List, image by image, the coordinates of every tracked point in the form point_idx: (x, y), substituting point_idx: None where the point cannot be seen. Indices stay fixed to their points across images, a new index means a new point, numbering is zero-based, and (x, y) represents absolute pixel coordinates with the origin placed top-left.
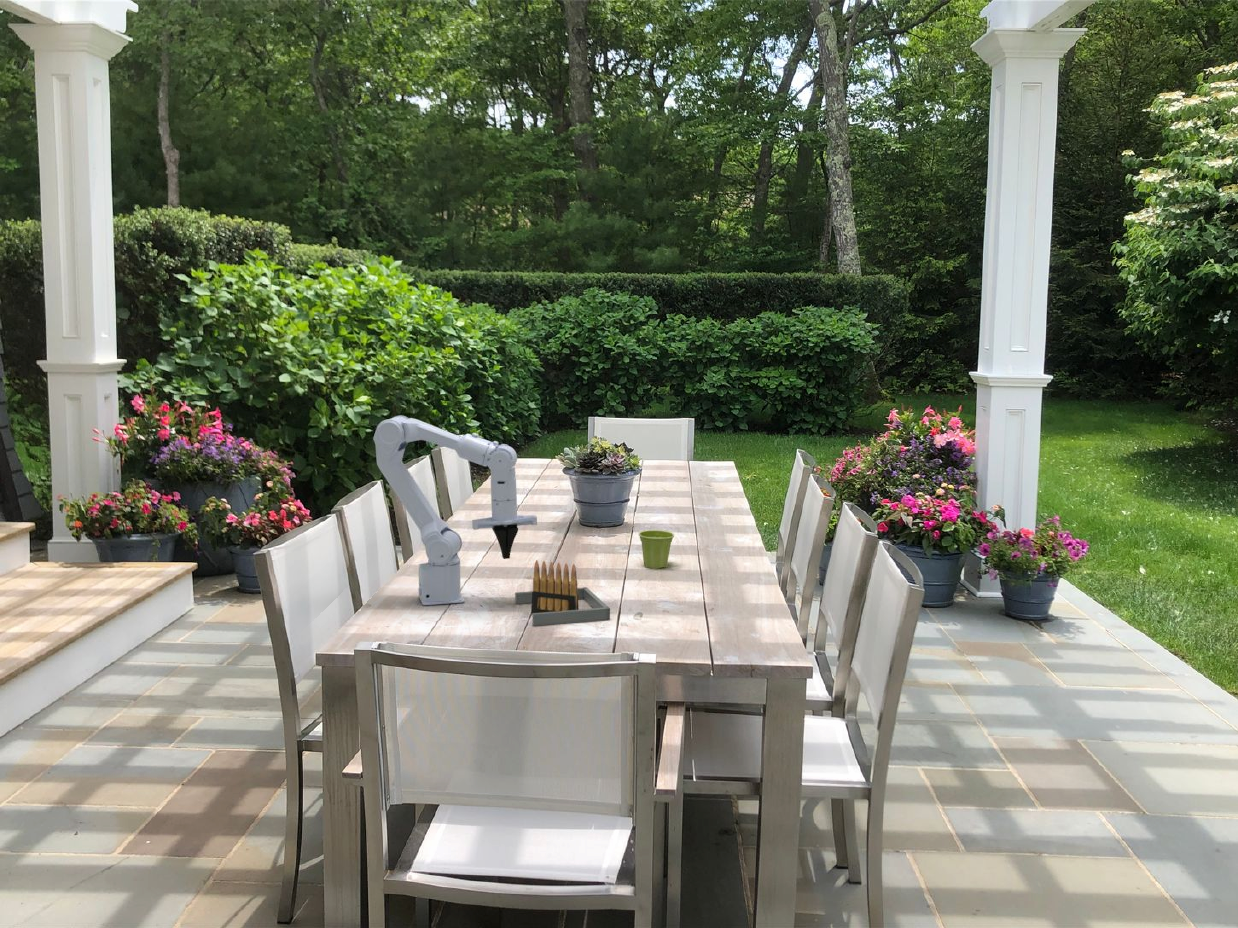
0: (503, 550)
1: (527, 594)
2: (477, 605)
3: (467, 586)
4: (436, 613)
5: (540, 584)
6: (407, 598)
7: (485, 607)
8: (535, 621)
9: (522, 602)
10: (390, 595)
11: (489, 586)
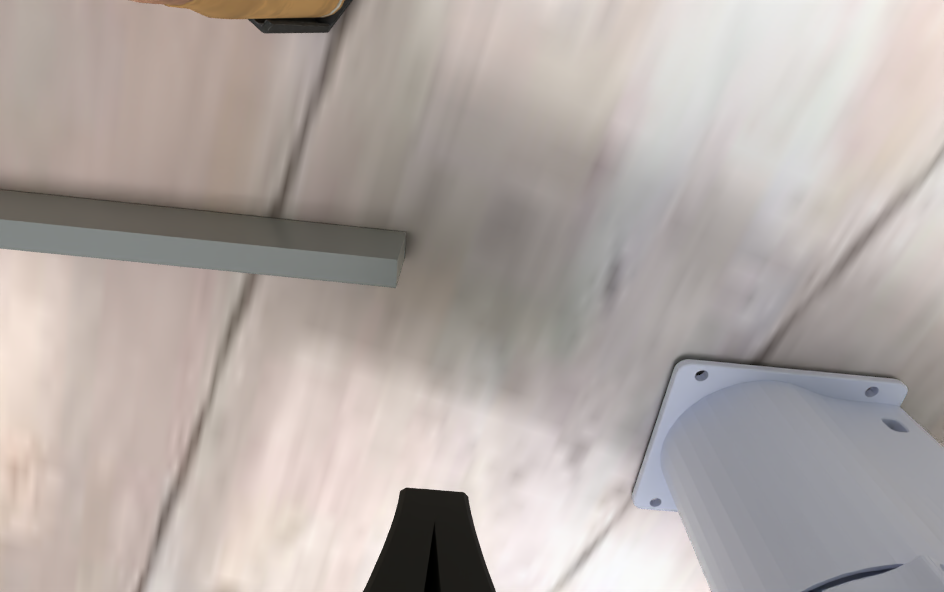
0: (479, 568)
1: (317, 247)
2: (631, 292)
3: (541, 578)
4: (925, 226)
5: None
6: None
7: (605, 238)
8: None
9: (363, 231)
10: None
11: None
